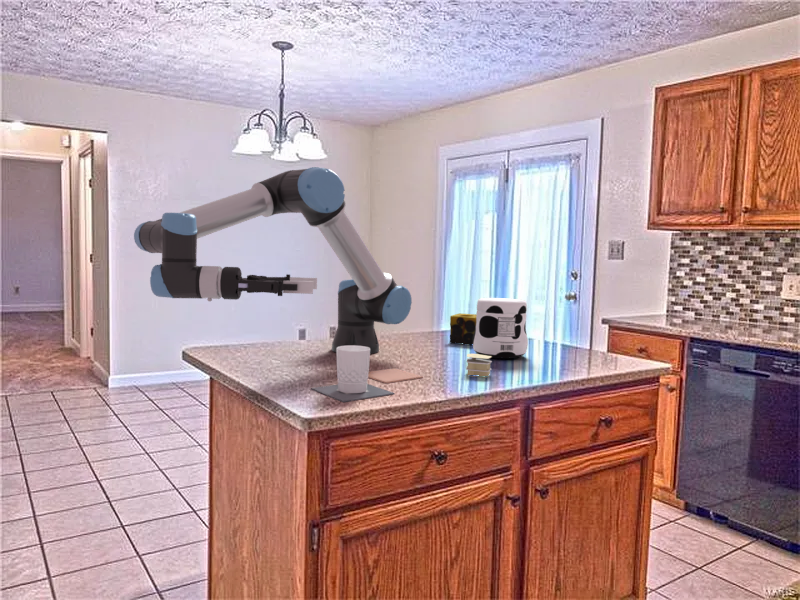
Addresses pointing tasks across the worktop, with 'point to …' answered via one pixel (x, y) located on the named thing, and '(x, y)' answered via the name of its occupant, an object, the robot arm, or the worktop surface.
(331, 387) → the tile
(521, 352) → the milk container
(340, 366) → the white cup
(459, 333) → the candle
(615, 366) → the worktop surface
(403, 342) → the worktop surface
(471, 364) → the stacked layers on plate
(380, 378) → the coaster
